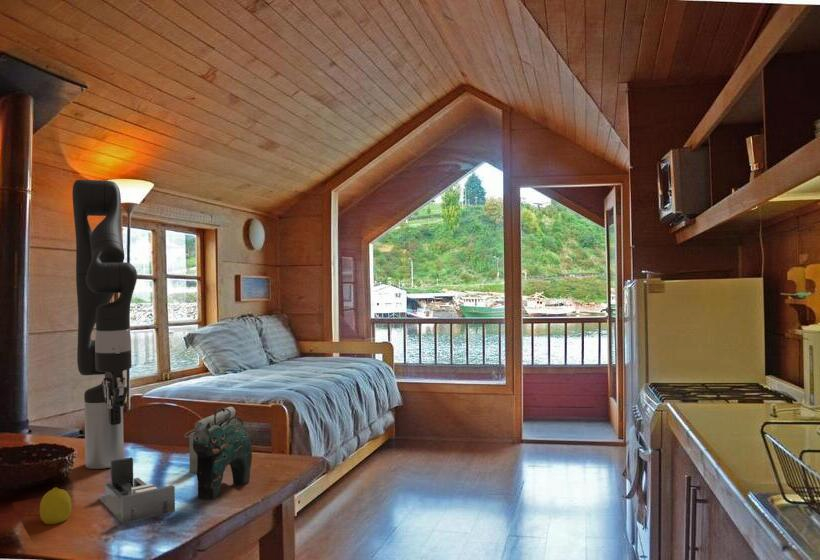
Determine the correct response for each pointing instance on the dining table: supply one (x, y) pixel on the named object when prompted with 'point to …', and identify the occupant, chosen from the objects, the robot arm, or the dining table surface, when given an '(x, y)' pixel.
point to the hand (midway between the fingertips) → (114, 423)
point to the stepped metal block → (122, 475)
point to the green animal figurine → (221, 455)
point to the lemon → (55, 506)
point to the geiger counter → (219, 418)
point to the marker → (142, 488)
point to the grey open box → (139, 502)
